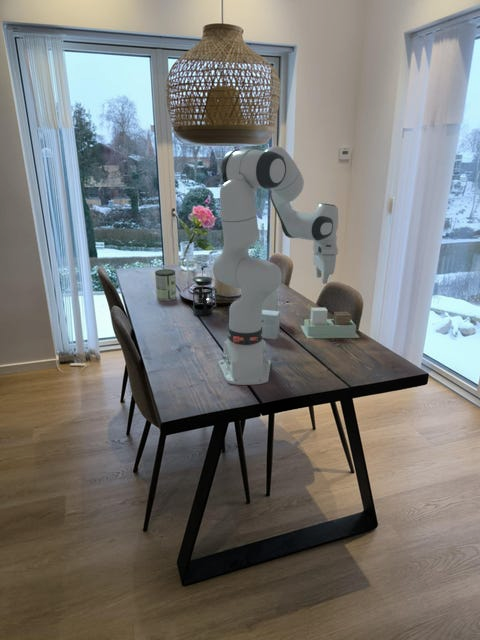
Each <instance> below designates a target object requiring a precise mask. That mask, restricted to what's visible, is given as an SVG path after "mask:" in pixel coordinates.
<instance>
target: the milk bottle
mask: <svg viewBox="0 0 480 640" xmlns="http://www.w3.org/2000/svg"><path fill="white" fill-rule="evenodd" d="M262 310H270V311H278V293H277V290H276V291H274V292H273V293H271V294H270V295H269V296H268V297H267V298H266V300H265V302H264V305H263V309H262Z"/></svg>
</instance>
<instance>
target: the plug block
mask: <svg viewBox="0 0 480 640" xmlns="http://www.w3.org/2000/svg"><path fill="white" fill-rule="evenodd" d="M328 311H329V310H328V309H327V308H326V307H310V325H326V324H327V319H328Z"/></svg>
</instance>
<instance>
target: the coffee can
mask: <svg viewBox="0 0 480 640" xmlns="http://www.w3.org/2000/svg"><path fill="white" fill-rule="evenodd" d="M154 275H155V288H156V299H157V300H158V301H165V302H167V301H172V300H175V299H177V285H176V281H177V280H176V270H174V269H169V268H165V269H157V270H156V271H155V272H154Z"/></svg>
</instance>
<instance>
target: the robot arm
mask: <svg viewBox="0 0 480 640" xmlns="http://www.w3.org/2000/svg"><path fill="white" fill-rule="evenodd" d="M220 167H221V168H220V170H221V178H222V182H223V184H222V185H221V186H220V189H219V212H220V220H221V226H222V233H223V234H222V235H223V236H222V237H223V248H222V251H221V253H220V254H219V255H218V256H217V258H215V260H214V262H213V267H212V272H213V276H214V278H215V279H216V280H217V281H219V282H220V283H222V284H224V285H226V286H227V287H232V288H237V289H239V290H241V292H240V293H241V296H240V297H239V298H238V299H236V300H234V301H233V302H232V303H231V304H230V306H229V310H228V311H229V315H228V316H229V317H228V318H229V319H228V321H229V322H228V323H229V324H228V327H227V339H226V340H225V341H224V342H223V356H222V359H221V360H219V361H218V362H217V365H218V367H219V369H220V372H221V374H222V375H223V377H224V380H225V381H226V383H228V384H231V385H239V386H241V385H242V386H255V385H261V384H262V385H263V384H266V383H268V382H269V379H270V378H269V377H270V372H271V371H270V370H271V365H272V364H271V363H272V362H271V360H270V359H269V356H268V355H266V353H268V348H266V341H265V340H264V338H262V334H263V331H262V327H261V319H262V309H263V305H264V302H265V300H266V298H267V297H268V296H269V295H270V294H271V293H273V292H274V291H276V292H277V290H278V288H279V287H280V285H281V283H282V279H283V278H282V270H281V268H280V266H279V265H277V264H276V263H274V262H272V261H270V260H267V259H262V258H258V257H252V256H250V254H249V248H251V247H253V246H254V245H255V244H256V242H257V241H258V239H259V236H260V235H259V225H258V224H259V223H258V216H257V207H256V203H255V198H254V197H255V196H254V195H255V191H256V189H265V190H269V189H270V190H269V198H270V201H271V204H272V206H273V207H274V210H275V212H276V215H277V217H278V219H279V221H280V225H281V229H282V232H283V234H284V235H285V237H287V238H291V239H302V240H306V241H313V243H312V244H313V245H312V250H313V257H312V261H313V265H315V269H316V270H315V271H316V276H315V277H316V278H322V279H321V283H322V284H323V285H325V284H328V279H329V277H330V275H333V274H334V272H335V268H336V264H337V263H336V262H337V255H338V253H339V248H338V246H337V241H338V240H337V238H338V237H337V232H338V228H339V208H338V207H337V206H336V205H335V204H329V203H318V205H317V208H316V210H315V211H314V212H312V213H305V212H300V211H296V210H295V209H293V206H292V204H291V203H292V202H293V201H294V200H296V199H297V198H298V197H299V196H300V194H301V193H302V192H303V189H304V185H305V184H304V183H305V182H304V177H303V175H302V173H301V171H300V169H299V168H298V166H297V164H296V162H295V161H294V159H293V158H292V157H291V155H290V154H289V153H288V152H287V151H286V150H285V149H284V148H283V147H282V146H279V145H274V146H270V147H268V148H267V149H265V150H260V149H255V148H246V149H245V148H244V149H239V148H238V149H234V150H230V151H228V152H227V153H226V154H224V157H223V159H222V162H221V165H220Z"/></svg>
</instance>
